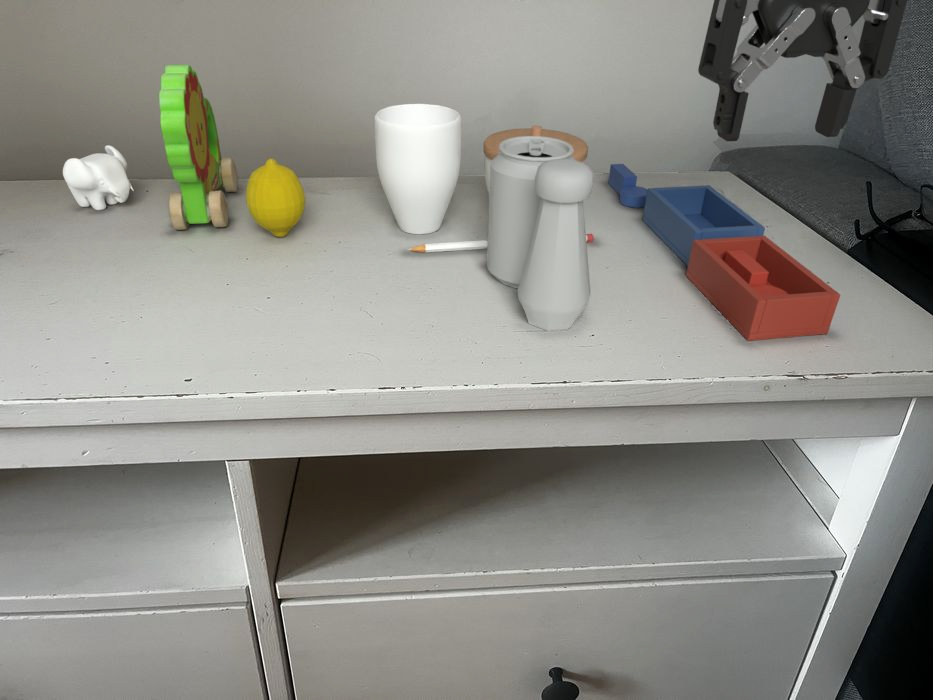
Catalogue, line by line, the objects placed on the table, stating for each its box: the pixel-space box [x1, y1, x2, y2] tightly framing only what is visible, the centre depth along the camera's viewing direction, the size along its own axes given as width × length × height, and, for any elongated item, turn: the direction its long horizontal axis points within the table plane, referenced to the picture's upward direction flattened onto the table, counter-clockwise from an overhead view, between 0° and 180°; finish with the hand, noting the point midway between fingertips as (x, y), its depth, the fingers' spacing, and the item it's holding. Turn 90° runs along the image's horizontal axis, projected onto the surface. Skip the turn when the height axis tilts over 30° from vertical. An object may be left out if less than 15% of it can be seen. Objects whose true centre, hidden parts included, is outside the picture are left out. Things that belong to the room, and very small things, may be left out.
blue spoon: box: [607, 163, 648, 209], centre depth 83 cm, size 8×3×2 cm, turn 10°
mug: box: [373, 103, 462, 235], centre depth 73 cm, size 12×8×11 cm
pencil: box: [406, 233, 594, 253], centre depth 71 cm, size 1×19×1 cm, turn 101°
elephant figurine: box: [62, 145, 135, 211], centre depth 76 cm, size 7×8×6 cm
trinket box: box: [482, 125, 589, 193], centre depth 76 cm, size 11×11×9 cm
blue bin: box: [642, 184, 766, 267], centre depth 72 cm, size 7×11×4 cm, turn 10°
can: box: [486, 136, 576, 289], centre depth 63 cm, size 8×8×12 cm
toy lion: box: [158, 64, 239, 231], centre depth 73 cm, size 16×5×15 cm, turn 9°
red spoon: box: [724, 250, 788, 297], centre depth 62 cm, size 8×3×2 cm, turn 10°
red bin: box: [685, 235, 841, 341], centre depth 61 cm, size 7×11×4 cm, turn 10°
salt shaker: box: [517, 159, 595, 332], centre depth 56 cm, size 6×6×13 cm
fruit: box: [245, 156, 306, 238], centre depth 70 cm, size 6×6×8 cm
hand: (777, 136), depth 57 cm, fingers open, 8 cm apart
